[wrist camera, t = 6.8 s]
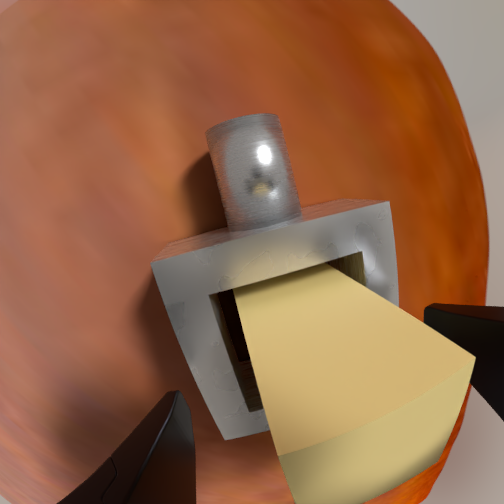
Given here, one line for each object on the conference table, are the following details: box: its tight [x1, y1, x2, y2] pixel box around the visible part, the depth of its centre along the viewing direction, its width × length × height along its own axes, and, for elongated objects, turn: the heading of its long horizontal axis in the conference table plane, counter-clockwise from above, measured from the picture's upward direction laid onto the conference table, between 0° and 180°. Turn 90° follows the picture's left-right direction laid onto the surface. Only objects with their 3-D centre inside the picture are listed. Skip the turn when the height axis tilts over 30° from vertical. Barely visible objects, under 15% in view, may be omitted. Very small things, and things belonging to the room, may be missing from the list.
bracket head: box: [150, 114, 399, 440], centre depth 12 cm, size 16×8×4 cm, turn 14°
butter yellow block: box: [233, 263, 476, 504], centre depth 9 cm, size 4×4×10 cm
